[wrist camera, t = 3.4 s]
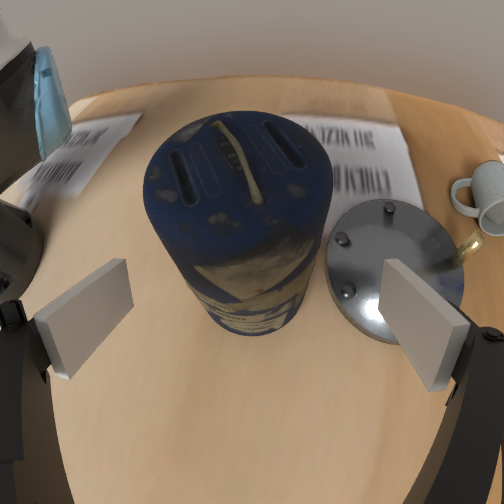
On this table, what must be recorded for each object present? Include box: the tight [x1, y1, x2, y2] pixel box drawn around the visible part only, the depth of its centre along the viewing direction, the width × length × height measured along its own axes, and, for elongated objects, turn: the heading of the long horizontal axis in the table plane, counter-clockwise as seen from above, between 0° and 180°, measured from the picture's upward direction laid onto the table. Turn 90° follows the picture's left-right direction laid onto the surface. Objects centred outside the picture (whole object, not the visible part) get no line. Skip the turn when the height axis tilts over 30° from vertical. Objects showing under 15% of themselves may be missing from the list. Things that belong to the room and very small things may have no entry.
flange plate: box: [325, 199, 484, 345], centre depth 25 cm, size 16×16×6 cm
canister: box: [143, 111, 333, 336], centre depth 20 cm, size 10×10×18 cm
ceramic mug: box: [450, 160, 504, 236], centre depth 27 cm, size 11×8×8 cm
